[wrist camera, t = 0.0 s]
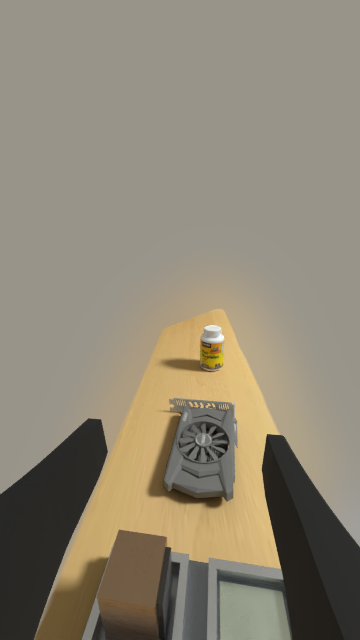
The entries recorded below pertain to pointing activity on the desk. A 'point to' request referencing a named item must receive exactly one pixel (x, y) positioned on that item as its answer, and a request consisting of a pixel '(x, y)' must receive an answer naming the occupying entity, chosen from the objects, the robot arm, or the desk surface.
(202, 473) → the graphics card
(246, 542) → the desk surface
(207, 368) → the supplement bottle
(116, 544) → the grey block holder
